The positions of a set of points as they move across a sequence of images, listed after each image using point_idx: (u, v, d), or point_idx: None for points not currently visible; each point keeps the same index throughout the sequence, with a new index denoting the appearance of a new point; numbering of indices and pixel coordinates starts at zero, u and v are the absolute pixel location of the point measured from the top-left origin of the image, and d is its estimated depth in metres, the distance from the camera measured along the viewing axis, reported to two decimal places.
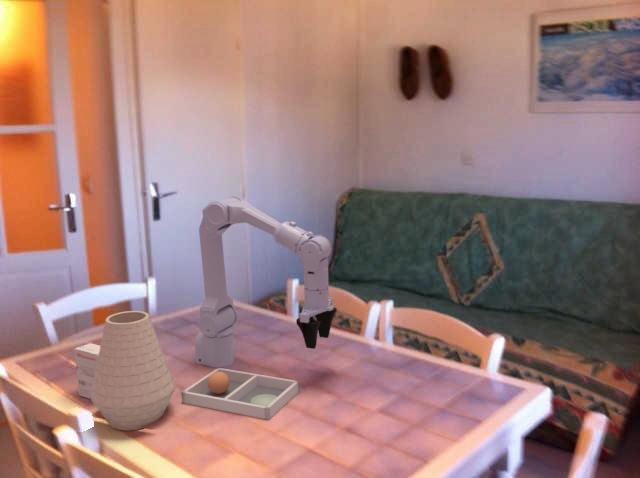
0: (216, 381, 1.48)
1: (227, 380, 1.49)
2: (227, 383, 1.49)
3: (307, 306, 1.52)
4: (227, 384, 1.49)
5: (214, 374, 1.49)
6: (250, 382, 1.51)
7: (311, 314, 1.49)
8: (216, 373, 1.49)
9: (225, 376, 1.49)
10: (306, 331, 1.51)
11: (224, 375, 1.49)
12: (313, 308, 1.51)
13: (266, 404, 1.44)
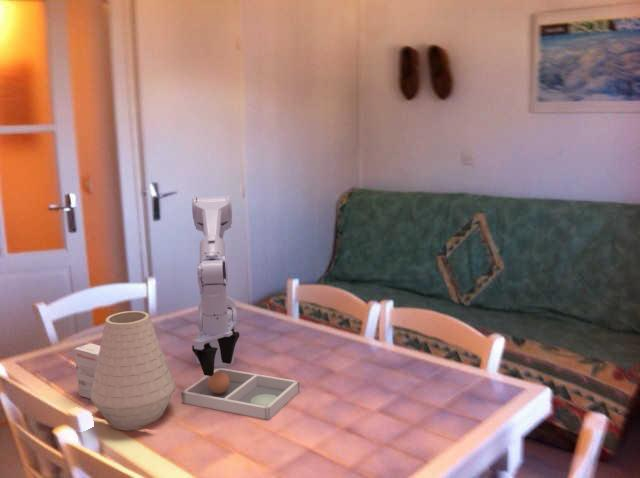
0: (216, 381, 1.48)
1: (227, 380, 1.49)
2: (227, 383, 1.49)
3: (204, 332, 1.46)
4: (227, 384, 1.49)
5: (214, 374, 1.49)
6: (250, 382, 1.51)
7: (206, 340, 1.42)
8: (216, 373, 1.49)
9: (225, 376, 1.49)
10: (203, 358, 1.45)
11: (224, 375, 1.49)
12: (210, 334, 1.45)
13: (266, 404, 1.44)
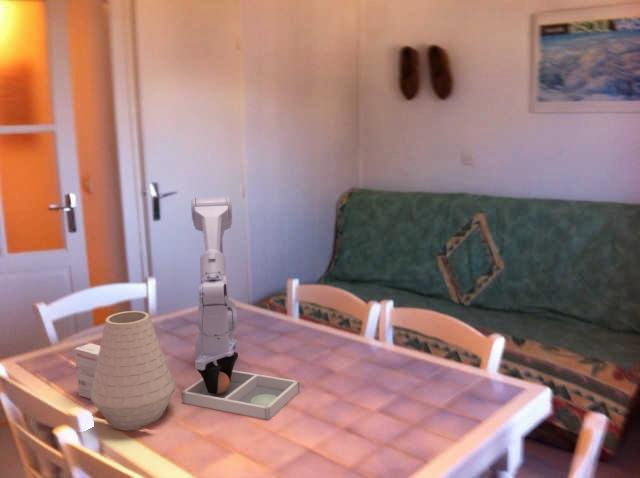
0: None
1: (227, 380, 1.49)
2: (227, 383, 1.49)
3: (206, 351, 1.47)
4: (227, 384, 1.49)
5: None
6: (250, 382, 1.51)
7: (207, 361, 1.43)
8: None
9: (225, 376, 1.49)
10: (207, 376, 1.47)
11: (224, 375, 1.49)
12: (211, 354, 1.46)
13: (266, 404, 1.44)
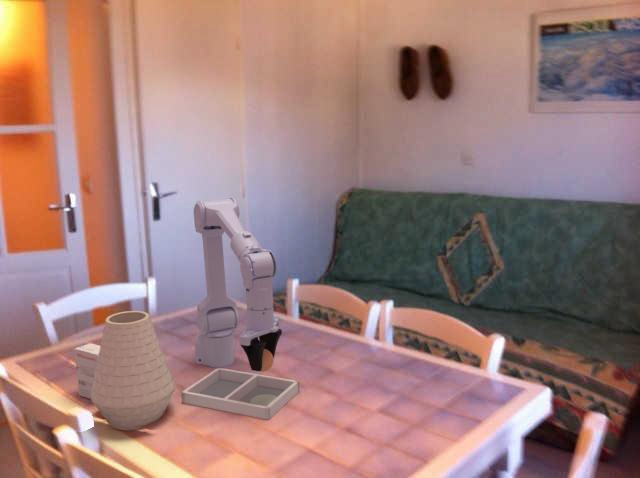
0: None
1: (271, 357, 1.43)
2: (271, 360, 1.43)
3: (250, 327, 1.41)
4: (271, 362, 1.43)
5: None
6: (250, 382, 1.51)
7: (252, 336, 1.37)
8: None
9: (269, 353, 1.43)
10: (251, 352, 1.41)
11: (268, 352, 1.43)
12: (256, 329, 1.40)
13: (266, 404, 1.44)
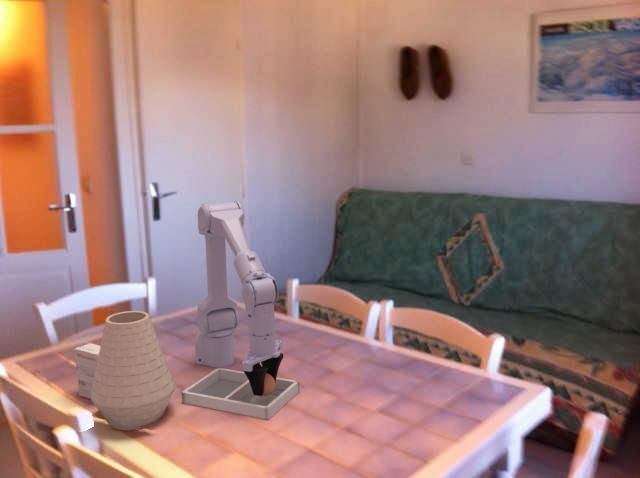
0: None
1: (273, 382, 1.44)
2: (273, 385, 1.44)
3: (252, 352, 1.42)
4: (273, 386, 1.44)
5: None
6: None
7: (254, 362, 1.38)
8: None
9: (271, 378, 1.44)
10: (253, 377, 1.42)
11: (270, 377, 1.44)
12: (258, 355, 1.41)
13: (266, 404, 1.44)
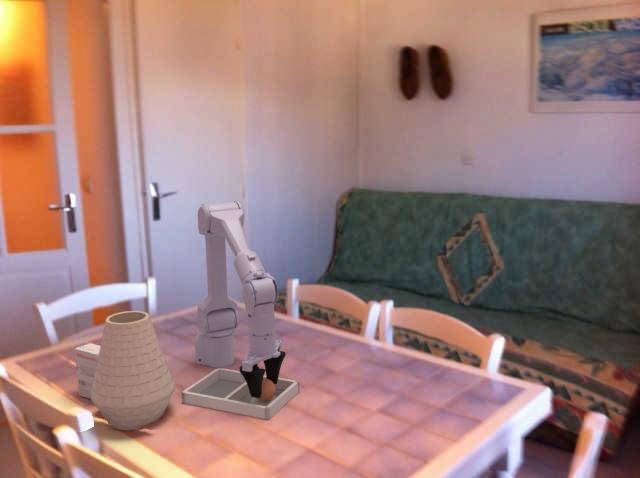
0: (262, 389, 1.43)
1: (273, 387, 1.44)
2: (273, 391, 1.44)
3: (252, 352, 1.42)
4: (273, 392, 1.44)
5: None
6: None
7: (254, 362, 1.38)
8: None
9: (271, 383, 1.44)
10: (250, 379, 1.41)
11: (270, 382, 1.44)
12: (258, 355, 1.41)
13: (266, 404, 1.44)
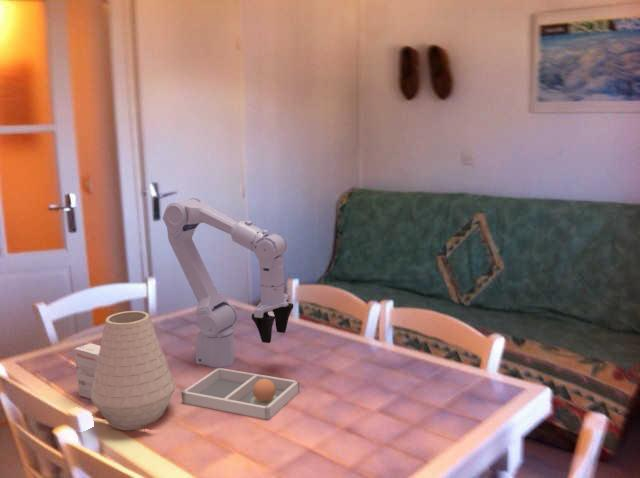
0: (262, 389, 1.43)
1: (273, 388, 1.44)
2: (273, 391, 1.44)
3: (263, 302, 1.57)
4: (273, 392, 1.44)
5: (260, 382, 1.44)
6: (250, 382, 1.51)
7: (265, 309, 1.54)
8: (262, 380, 1.44)
9: (271, 384, 1.44)
10: (261, 326, 1.57)
11: (270, 383, 1.44)
12: (268, 304, 1.56)
13: (266, 404, 1.44)
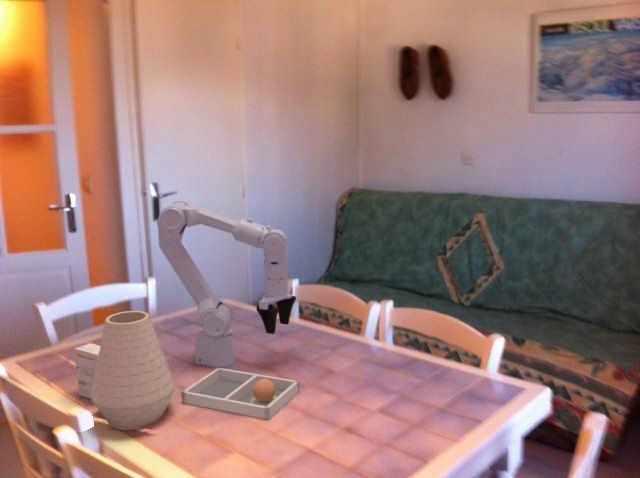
0: (262, 390, 1.43)
1: (273, 388, 1.44)
2: (273, 391, 1.44)
3: (267, 294, 1.63)
4: (273, 393, 1.44)
5: (260, 382, 1.44)
6: (250, 382, 1.51)
7: (270, 301, 1.60)
8: (262, 381, 1.44)
9: (271, 384, 1.44)
10: (266, 317, 1.63)
11: (270, 383, 1.44)
12: (272, 296, 1.62)
13: (266, 404, 1.44)
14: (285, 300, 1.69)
